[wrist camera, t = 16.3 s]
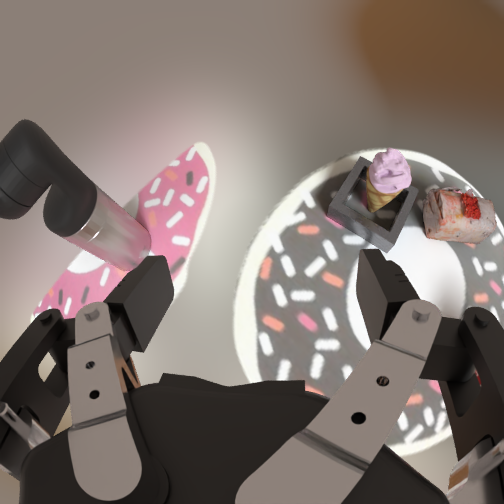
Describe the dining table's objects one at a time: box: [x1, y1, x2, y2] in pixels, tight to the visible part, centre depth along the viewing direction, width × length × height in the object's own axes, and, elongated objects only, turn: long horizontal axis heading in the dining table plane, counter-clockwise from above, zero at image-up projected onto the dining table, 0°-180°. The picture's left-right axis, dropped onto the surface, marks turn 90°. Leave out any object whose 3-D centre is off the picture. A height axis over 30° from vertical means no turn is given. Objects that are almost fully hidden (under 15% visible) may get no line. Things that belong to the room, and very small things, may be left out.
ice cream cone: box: [366, 148, 411, 213], centre depth 39 cm, size 7×6×15 cm
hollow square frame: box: [327, 156, 419, 253], centre depth 44 cm, size 12×12×4 cm
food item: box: [423, 187, 497, 244], centre depth 38 cm, size 14×8×10 cm, turn 84°
